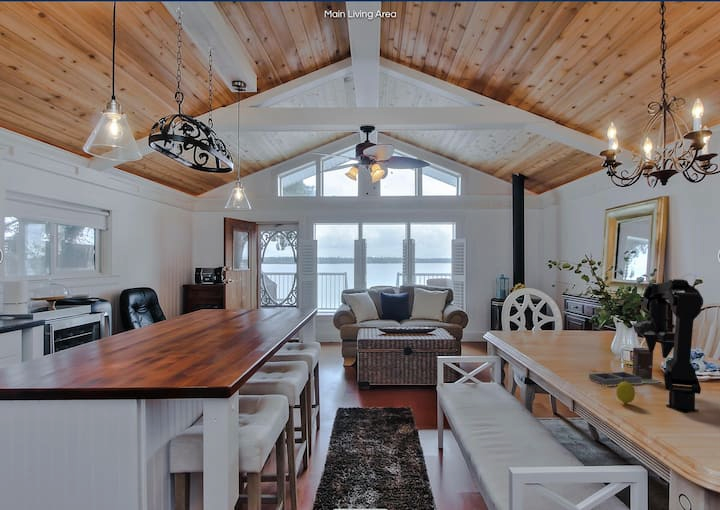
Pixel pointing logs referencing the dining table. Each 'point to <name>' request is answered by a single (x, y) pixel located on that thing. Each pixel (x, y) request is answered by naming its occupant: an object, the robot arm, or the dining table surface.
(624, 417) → the dining table surface
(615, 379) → the tray
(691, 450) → the dining table surface
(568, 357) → the dining table surface
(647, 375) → the box
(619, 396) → the lemon
